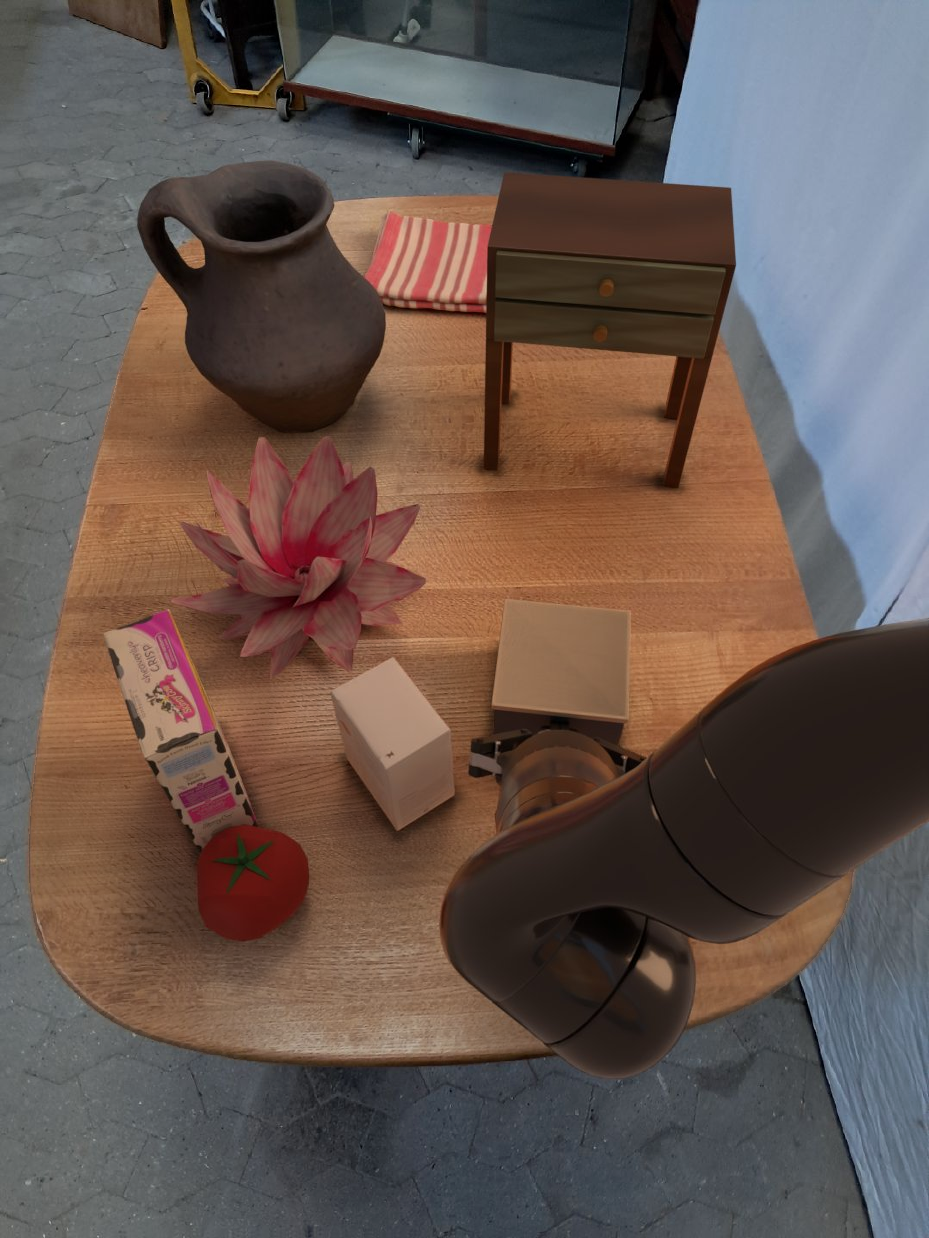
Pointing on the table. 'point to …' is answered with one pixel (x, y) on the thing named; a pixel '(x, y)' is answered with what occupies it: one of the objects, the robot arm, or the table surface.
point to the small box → (395, 742)
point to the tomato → (250, 881)
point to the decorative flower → (304, 557)
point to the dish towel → (430, 264)
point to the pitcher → (268, 291)
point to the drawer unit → (608, 282)
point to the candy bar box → (178, 727)
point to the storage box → (562, 669)
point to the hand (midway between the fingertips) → (557, 733)
